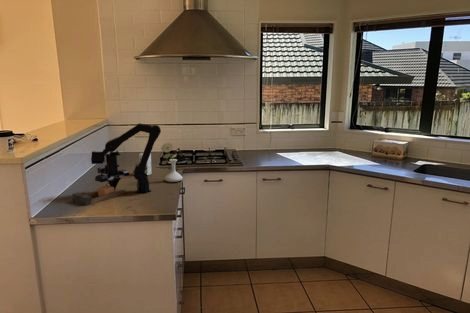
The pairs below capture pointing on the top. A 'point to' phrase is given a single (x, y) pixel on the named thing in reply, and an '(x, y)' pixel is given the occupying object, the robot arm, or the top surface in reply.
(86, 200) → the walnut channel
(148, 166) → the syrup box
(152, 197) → the top surface
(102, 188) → the block
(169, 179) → the flower in vase
